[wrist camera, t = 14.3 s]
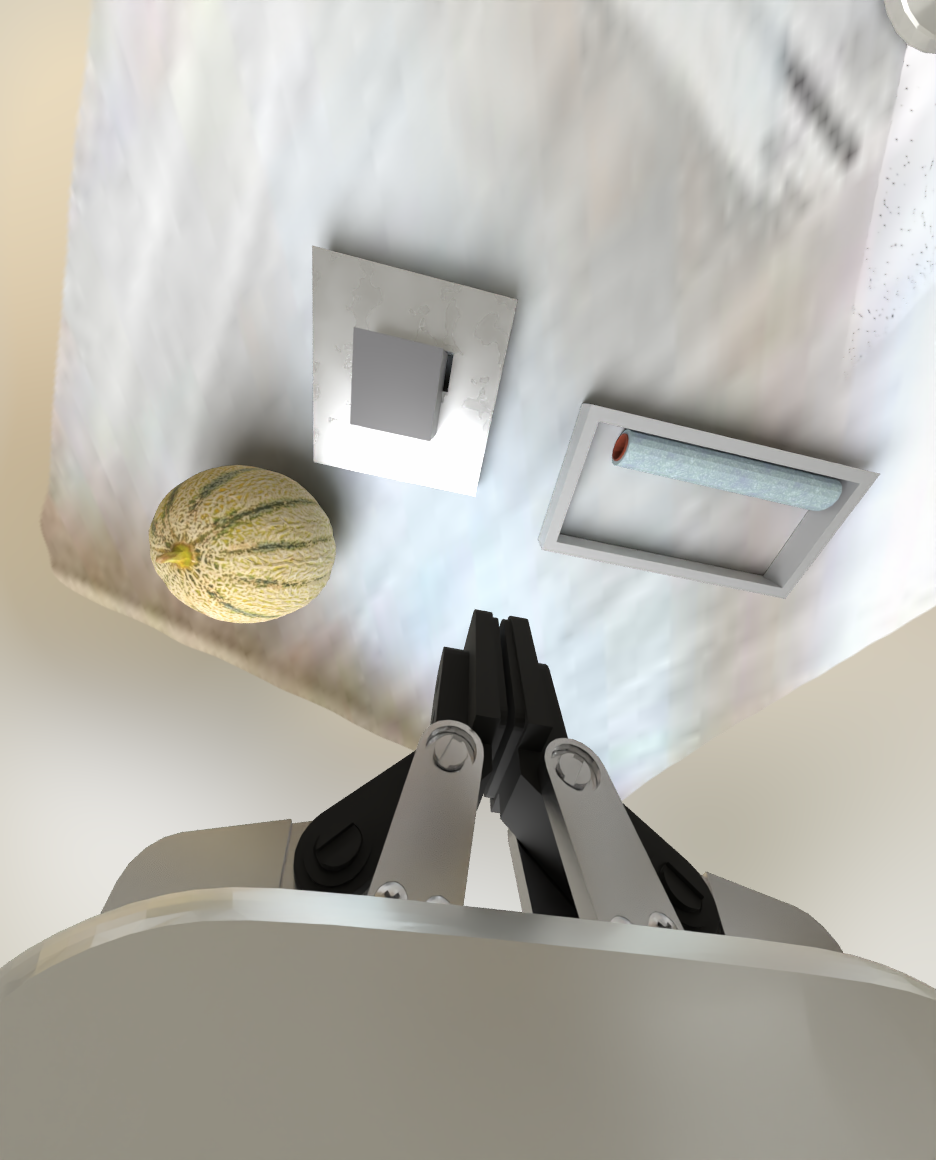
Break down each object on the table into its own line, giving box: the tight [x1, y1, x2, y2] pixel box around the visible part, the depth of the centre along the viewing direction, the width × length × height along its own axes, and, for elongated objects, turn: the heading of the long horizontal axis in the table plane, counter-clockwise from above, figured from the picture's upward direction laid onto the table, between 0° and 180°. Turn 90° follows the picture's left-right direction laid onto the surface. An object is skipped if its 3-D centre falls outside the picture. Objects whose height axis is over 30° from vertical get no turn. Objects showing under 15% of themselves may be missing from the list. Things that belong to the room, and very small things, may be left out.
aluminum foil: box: [612, 429, 842, 511], centre depth 34 cm, size 23×7×3 cm, turn 78°
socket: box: [312, 246, 518, 496], centre depth 32 cm, size 16×16×3 cm
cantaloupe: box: [149, 465, 336, 623], centre depth 33 cm, size 15×15×15 cm
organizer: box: [538, 403, 880, 599], centre depth 37 cm, size 14×29×3 cm, turn 78°
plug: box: [350, 327, 448, 442], centre depth 30 cm, size 6×6×8 cm
